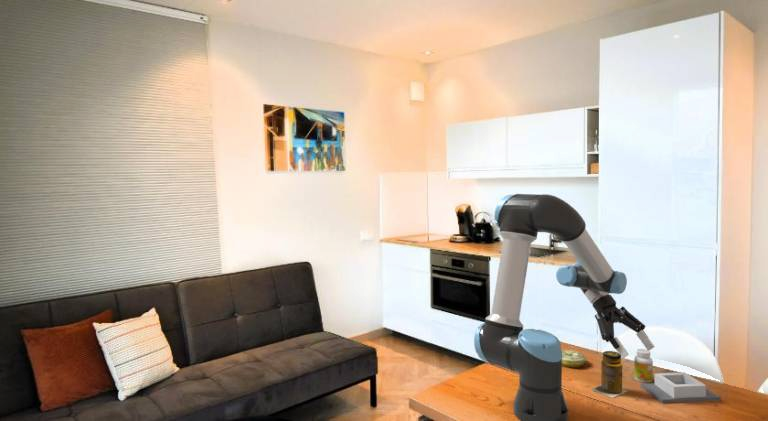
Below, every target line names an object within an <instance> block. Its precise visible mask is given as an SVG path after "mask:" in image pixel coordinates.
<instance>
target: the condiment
mask: <svg viewBox="0 0 768 421" xmlns="http://www.w3.org/2000/svg"><path fill="white" fill-rule="evenodd" d="M600 365H601V366H600V367H601V368H600V371H601V373H600V374H601V376H600V378H601V379H600V383H601V384H600V385H597V386H596V387H593V388H591V390H592V391H594V392H597V393H599V394H601V395H603V396H606V397H609V398H612V399H613V398H616V397H617V396H620V395H621V396H622V395H623V394H625V393H626V392H628V391H629V390H627V389H624V388H623V363H622V358H621V354H619V353H618V352H617V351H614V350H613V351H612V350H606V351H604V352H602V359H601V363H600Z"/></svg>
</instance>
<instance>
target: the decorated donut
mask: <svg viewBox="0 0 768 421" xmlns="http://www.w3.org/2000/svg"><path fill="white" fill-rule="evenodd" d="M587 361H588V360H587V358H586V356H585V355H584V354H583V353H581V352H579V351H577V350H573V349H570V350H569V349H568V350H567V349H566V350H564V349H563V350H562V367H567V368H571V369H572V368H580V367H582V366H583V365H584V364H586V362H587Z"/></svg>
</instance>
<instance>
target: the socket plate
mask: <svg viewBox="0 0 768 421" xmlns="http://www.w3.org/2000/svg"><path fill="white" fill-rule="evenodd" d="M640 388H641V389H643V390H644V391H645V392H646V393H648V394H650V396H652V397H654V398H655V400H658V401H659V402H660V403H661V404H667V403H688V402H689V403H693V402H694V403H695V402H713V401H714V402H715V401H717V402H718V401H721V400H722V399H721V398H722V397H721V396H719V395H718V394H716V393H715V392H713V391H712V390H710V389H708V388H707V385H706V384H704V383H703V382H701V381H699V380H698V379H696V378H695V377H693V376H691V375H689V374H687V373H686V372H683V371H682V372H664V373H663V372H662V373H661V372H660V373H654V383H640Z"/></svg>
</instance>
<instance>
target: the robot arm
mask: <svg viewBox="0 0 768 421" xmlns="http://www.w3.org/2000/svg"><path fill="white" fill-rule="evenodd" d="M494 221H495V222H494V223H495V226H496V227H497V228H498V229H499V235H500V236H501V238H502V245H501V251H500V257H499V264H498V268H497V275H496V283H495V288H494V296H493V300H492V302H493V303H492V308H491V313H490V314H489V315H488V316H486V317H485V319H484V323H481V324H479V326H478V327H477V329H476V330H475V332H474V333H475V334H474V337H473V338H474V339H473V346H474V350H475V353H476V354H477V356H478V358H480V359H481V361H484V362H485V363H488V364H490V365H492V366H497V367H499V368H503V369H506V370H509V371H511V372H515V373H517V374H518V377H519V380H518V381H519V385H518V386H519V387H518V388H517V392H516V394H515V398H514V401H513V406H512V407H513V414H514V416H515V417H516V418H517V419H519V420H520V421H568V420H569V407H568V404H567V401H566V399H565V396H564V393H563V390H562V389H563V388H562V387H563V385H562V383H563V380H562V378H563V376H562V374H563V373H562V372H563V366H562V351H563V350H562V343H561V341H560V340H559V338H558V337H557V336H556V335H554V334H552V333H551V332H548V331H545V330H542V329H535V328H525V329H524V325H523V323H522V322H521V320H520V318H521V313H522V312H521V310H522V303H523V298H524V290H525V285H526V278H527V273H528V272H527V271H528V264H529V259H530V258H529V257H530V252H531V245H532V243H533V242H535V241H536V240H537V239H538V233H547V234H551V235H553V236H554V237H555V239H557V240H558V241H560V242H563V244H565V246H566V247H567V249H568V250H569V252H570V253H571V254H572V255H573V256H574V258H575V259H576V262H575V263H573V264H572V265H571V264H563V265H561V266H559V267H558V268H557V271H556V273H555V277H556V280H557V282H558V283H559V285H561V286H564V287H572V288H578V289H580V290H581V291H582V293H583V294H584V296H585V297H586V299H587V300H588V301H589V303H590V304H592V307H593V309H594V310H595V312H596V314H595V315H594V318H595V319H596V322H597V325H598V328H599V332H600V336H601V340H602V341H605V342H606V343H610V344H611V346H612V347H613V348H614V349H615V351H616V352H617V353H619V354H621V360H622V359H625V358H626V357H627V356H629V355H630V354H629V352H628V351H627V350H626V348H625V347H624V345H623V344H622V342H621V341H620V339H619V338H618V337H617V336H615V328H614V327H615V326H614V324H616V323H617V324H618V323H619V324H623V325H624V326H625V327H627V328H628V329H630V330H632V331H633V332H635V333H636V334H635V336H637V337H638V339H639V341H641V343H642V344H643V346H644V347H645V350H648V351H650V350H652V349H654V348H655V347H656V346H655V344H653V342H652V341H651V340H650V338H649V336H648V335H647V334H646V332H645V331H644V330H645V328H646V325H645V324H644V323H643V322H642V321H640V320H639V319H638V318H637V317H636V316H634V315H633V314H632V313H630V311H628V310H627V309H626V307H625V306H621V307H620V308H618V307H617V302H616V300H615V298H614V297H613V296H612V295H611V294H617V295H620V294H623V293H624V292H625V291H626V287H627V284H628V280H627V279H628V278H627V276H626V274H625V273H624V272H622V271H618V270H614V269H613V268H612V267H611V265H610V263H609V261H607V259H606V257H605V255H604V254H603V253H602V251H601V250H600V248H599V247H598V246H597V244H596V243H595V241H594V240H593V238H592V237H591V235H590V234H589V232H588V230H587V229H586V228H587V227H586V221H585V220H584V219H583V217H582V216H581V214H580V213H579V212H578V211H577V210H576V209H575V208H574V206H572V205H571V204H570V203H568V202H567V201H565V200H563V199H561V198H560V197H558V196H555V195H553V194H544V193H543V194H533V193H532V194H531V193H529V194H528V193H527V194H525V193H515V194H507V195H505V196H503V198H501V199H500V200H499V201H498V203H497V204H496V207H495V209H494Z"/></svg>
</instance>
